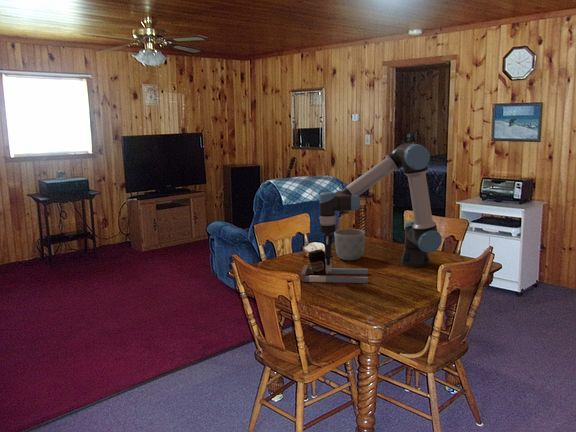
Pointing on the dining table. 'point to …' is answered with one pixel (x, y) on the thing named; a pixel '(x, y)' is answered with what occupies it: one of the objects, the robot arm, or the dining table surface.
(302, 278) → the beam slot
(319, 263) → the coffee cup
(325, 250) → the robot arm
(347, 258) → the planter
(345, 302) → the dining table surface
